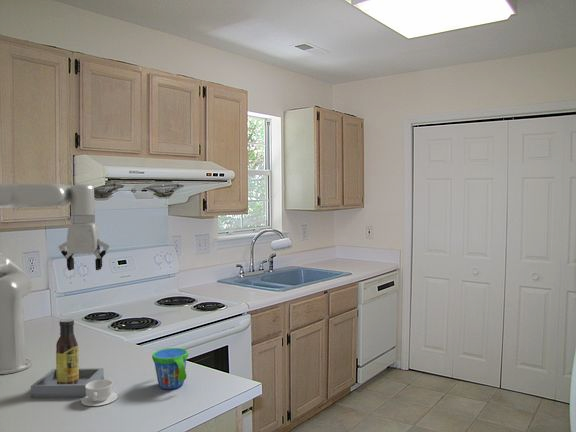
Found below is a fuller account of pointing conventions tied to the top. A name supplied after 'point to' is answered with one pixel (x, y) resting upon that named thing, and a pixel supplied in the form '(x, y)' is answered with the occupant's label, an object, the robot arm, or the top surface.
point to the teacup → (99, 393)
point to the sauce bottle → (67, 354)
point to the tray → (51, 389)
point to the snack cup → (170, 367)
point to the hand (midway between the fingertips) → (84, 269)
